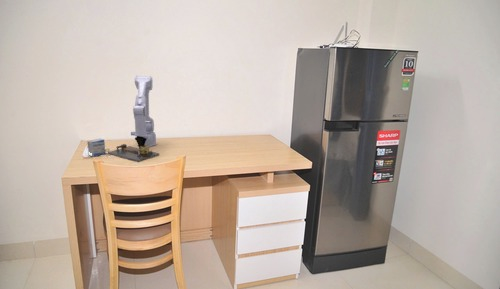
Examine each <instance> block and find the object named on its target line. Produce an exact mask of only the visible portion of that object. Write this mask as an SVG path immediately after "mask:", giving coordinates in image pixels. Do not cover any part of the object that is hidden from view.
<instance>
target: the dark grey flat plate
mask: <svg viewBox="0 0 500 289" xmlns="http://www.w3.org/2000/svg"><path fill="white" fill-rule="evenodd" d="M127 148H129V149H133V150H137V151H139V150H141V149H139V147H135V146H132V145H131V146H130V145H129V146H127ZM118 150H119V151H117V149H114V150H111V151H107V155H110V156H114V157H119V158H122V159H125V160H129V161H133V162H136V163H140V162H144V161H147V160H149V159H152V158H155V157H158V156H160V153H158V152H154V151H152V156H146V155H142V154H140V156H138V153H134V152H130V151H126V150H122V149H121V148H118ZM150 152H151V150H150Z"/></svg>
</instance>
